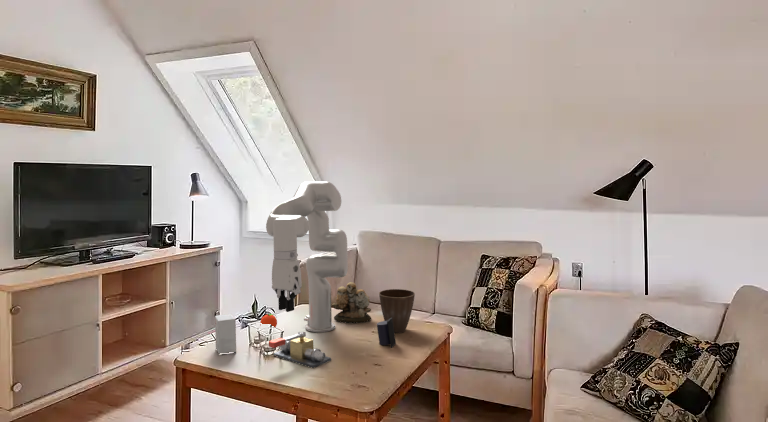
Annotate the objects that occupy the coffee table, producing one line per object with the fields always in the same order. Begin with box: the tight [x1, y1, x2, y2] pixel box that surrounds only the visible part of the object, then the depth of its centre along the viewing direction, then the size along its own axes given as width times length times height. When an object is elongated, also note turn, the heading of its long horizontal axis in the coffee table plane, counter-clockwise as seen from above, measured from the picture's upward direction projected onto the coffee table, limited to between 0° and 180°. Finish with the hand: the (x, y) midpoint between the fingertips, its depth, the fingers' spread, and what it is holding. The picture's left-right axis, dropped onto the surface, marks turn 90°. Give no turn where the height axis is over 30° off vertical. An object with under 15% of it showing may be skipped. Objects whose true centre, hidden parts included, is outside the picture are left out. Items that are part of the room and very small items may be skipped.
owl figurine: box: [331, 281, 372, 324], centre depth 238 cm, size 18×12×17 cm, turn 87°
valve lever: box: [268, 331, 307, 349], centre depth 184 cm, size 3×15×2 cm, turn 143°
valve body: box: [273, 336, 332, 369], centre depth 189 cm, size 20×9×8 cm, turn 53°
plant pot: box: [378, 288, 416, 334], centre depth 222 cm, size 15×15×16 cm
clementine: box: [259, 313, 278, 328], centre depth 223 cm, size 8×7×7 cm
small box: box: [214, 313, 237, 355], centre depth 197 cm, size 8×6×13 cm
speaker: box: [376, 318, 397, 349], centre depth 204 cm, size 8×6×10 cm
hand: (286, 309), depth 175 cm, fingers open, 2 cm apart
